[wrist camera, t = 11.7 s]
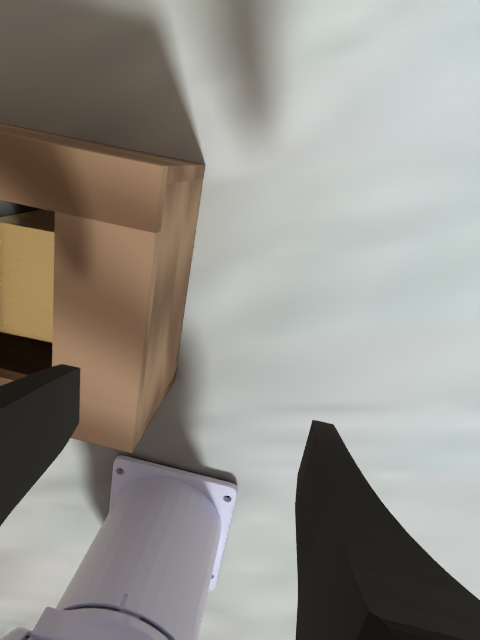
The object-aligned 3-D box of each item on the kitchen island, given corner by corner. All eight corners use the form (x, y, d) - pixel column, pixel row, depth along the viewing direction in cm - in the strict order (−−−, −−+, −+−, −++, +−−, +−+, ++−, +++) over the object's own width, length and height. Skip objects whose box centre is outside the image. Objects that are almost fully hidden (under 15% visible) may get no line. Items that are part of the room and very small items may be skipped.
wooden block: (105, 307, 24) (56, 343, 19) (54, 297, 24) (-7, 330, 19) (108, 217, 22) (55, 232, 17) (53, 207, 22) (-14, 219, 17)
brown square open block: (174, 381, 24) (131, 453, 18) (-19, 335, 25) (-120, 390, 19) (205, 164, 20) (162, 166, 14) (-31, 117, 21) (-166, 99, 15)
